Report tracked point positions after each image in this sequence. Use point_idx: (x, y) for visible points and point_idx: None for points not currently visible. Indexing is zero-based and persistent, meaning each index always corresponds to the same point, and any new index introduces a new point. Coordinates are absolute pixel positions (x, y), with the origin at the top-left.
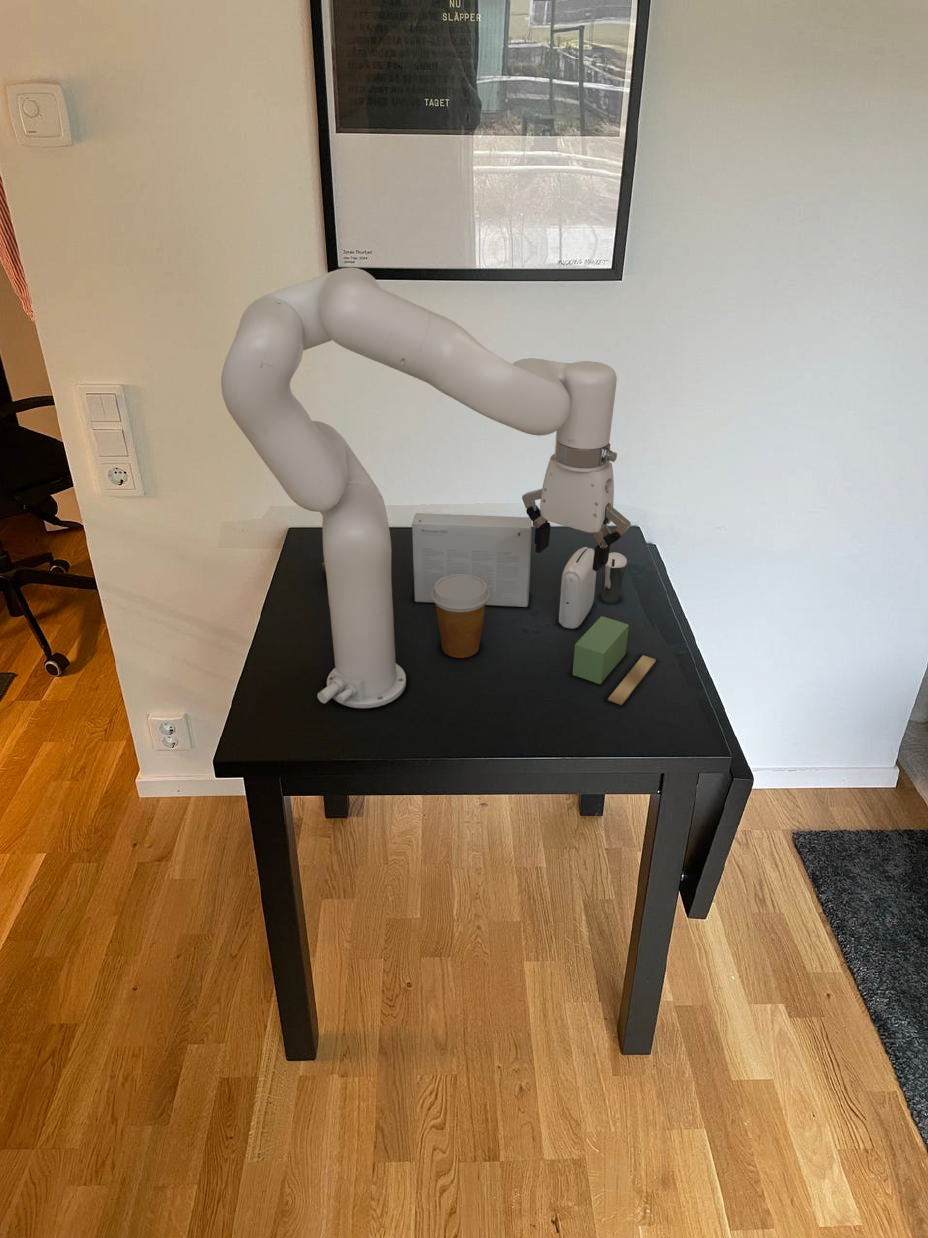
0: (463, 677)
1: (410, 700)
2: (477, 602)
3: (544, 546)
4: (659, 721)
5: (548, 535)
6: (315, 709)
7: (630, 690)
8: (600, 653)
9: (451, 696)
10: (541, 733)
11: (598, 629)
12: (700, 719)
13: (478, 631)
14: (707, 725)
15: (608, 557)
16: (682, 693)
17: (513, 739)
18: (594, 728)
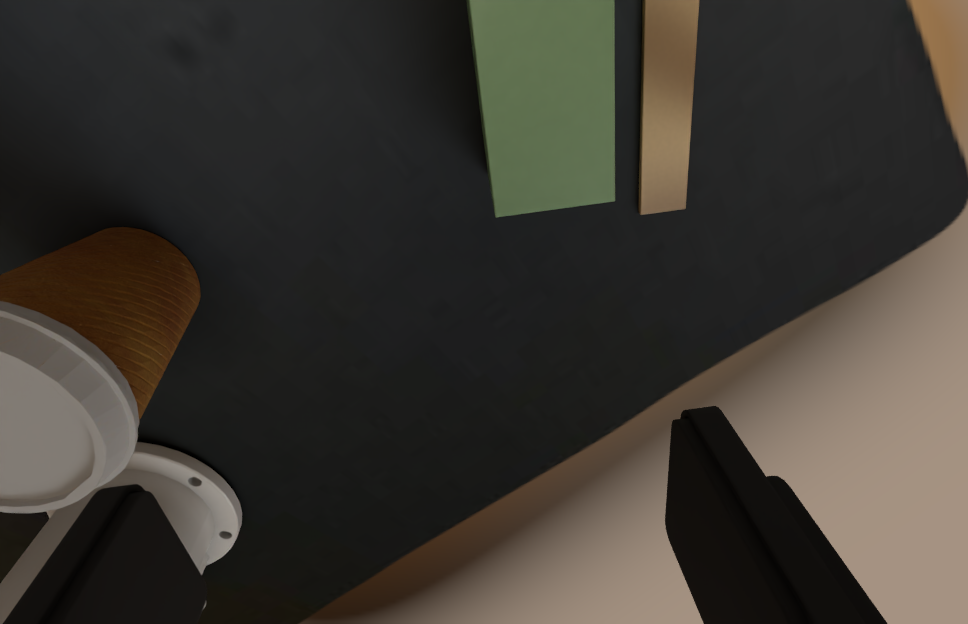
0: (270, 368)
1: (261, 484)
2: (122, 434)
3: (169, 570)
4: (801, 199)
5: (94, 615)
6: None
7: (685, 136)
8: (602, 202)
9: (312, 430)
10: (558, 403)
11: (513, 57)
12: (917, 112)
13: (168, 319)
14: (941, 125)
15: (802, 505)
16: (843, 19)
17: (519, 447)
18: (655, 323)
